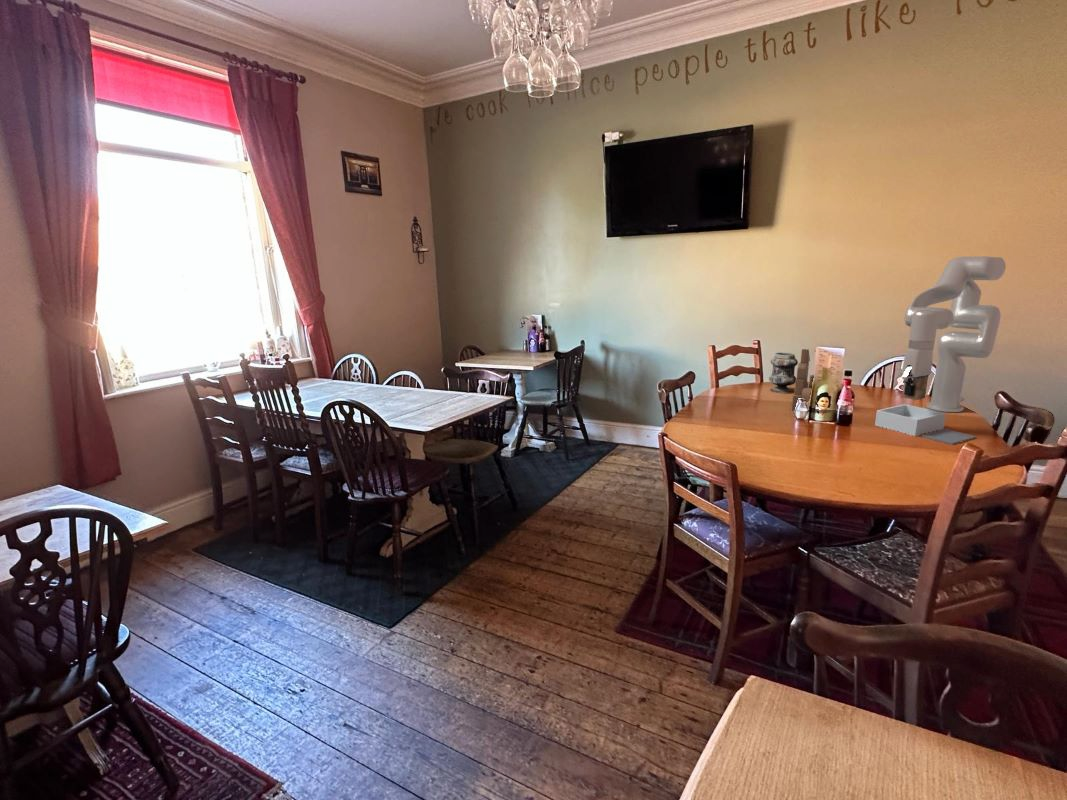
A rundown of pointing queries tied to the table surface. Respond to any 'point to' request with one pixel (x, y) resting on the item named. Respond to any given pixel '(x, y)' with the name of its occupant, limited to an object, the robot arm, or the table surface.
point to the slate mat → (948, 436)
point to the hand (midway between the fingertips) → (914, 393)
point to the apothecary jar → (783, 372)
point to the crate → (910, 419)
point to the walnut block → (918, 388)
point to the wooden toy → (802, 379)
